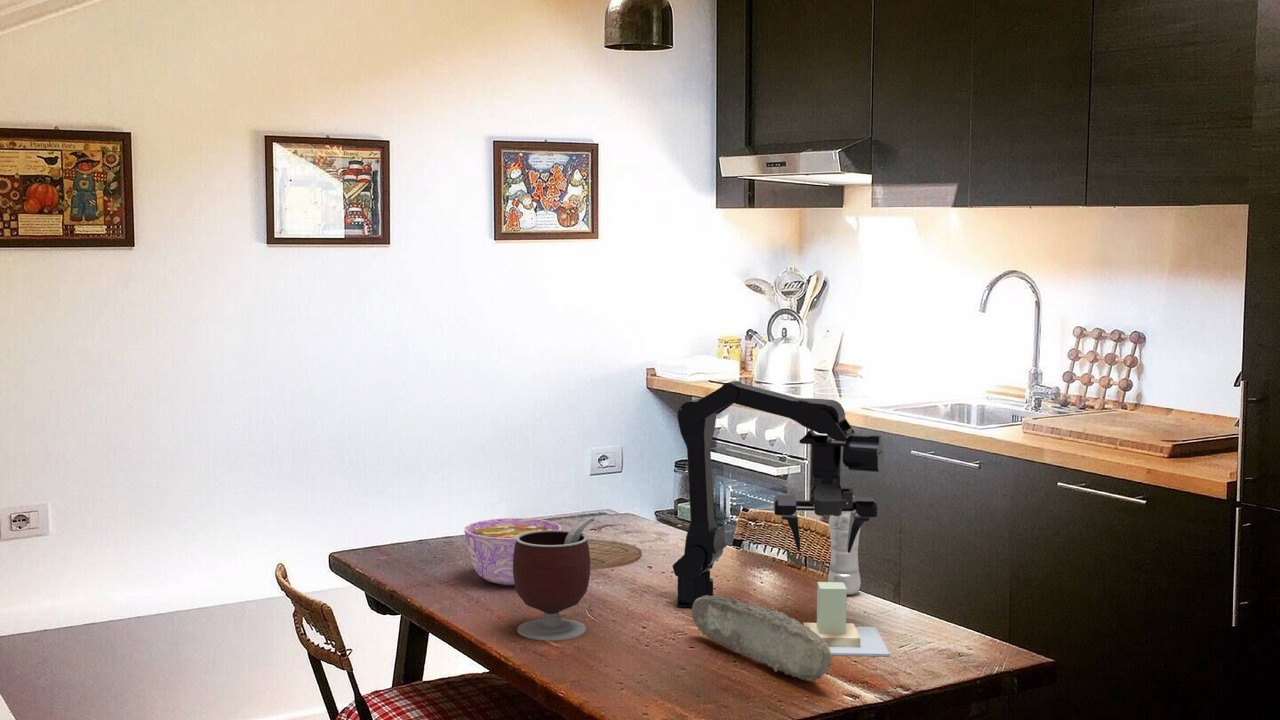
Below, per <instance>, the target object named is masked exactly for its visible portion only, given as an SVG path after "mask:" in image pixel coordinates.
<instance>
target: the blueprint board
mask: <svg viewBox="0 0 1280 720" xmlns="http://www.w3.org/2000/svg"><path fill="white" fill-rule="evenodd" d="M855 628H856V630H857V632H858V634H859V636H860V647H829V649H830V652H831V656H845V657H846V656H849V657H851V656H852V657H853V656H854V657H856V656H857V657H858V656H859V657H890V655H891V654H890V651H889V650H888V647H887V646H886V644H885V643H884V640H883V638H882V637H881V635H880V633H879V631H878V629H877V627H876V626H855Z"/></svg>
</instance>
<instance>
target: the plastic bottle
mask: <svg viewBox="0 0 1280 720" xmlns="http://www.w3.org/2000/svg"><path fill="white" fill-rule="evenodd" d="M853 497H856V496H855V495H854V494H853ZM851 512H853V511H842V514H841V515H840V516H834V515H829V519H828V526H829V529H828V530H829V538H830V554H831V555H830V563H829V564H830V565H829V571H828V577H827V582H844V584H845V587H846V589H847V596H852V595H853V596H854V595H857V594H858V593H859V590H860V588H861V582H862V581H861V575H860V568H859V555H858V554H859V550H858V549H859V542H860V541H859V540H860V534H861V528H862V526H861V527H860V529H859V531H858V533H857V535H856V538H855V540H854V543H853V546H852V549H851V551H850V553H848V552H847V540H848V531H849V522H850V514H851Z"/></svg>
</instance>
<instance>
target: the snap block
mask: <svg viewBox="0 0 1280 720" xmlns="http://www.w3.org/2000/svg"><path fill="white" fill-rule="evenodd" d="M816 585H817V589H816V594H817V595H816V597H817V598H816V623H817V629H818V631H819V634H846V623H847V596H848V595H847V589H846V587H845V584H844V582H828V581H817V582H816Z"/></svg>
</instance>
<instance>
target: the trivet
mask: <svg viewBox="0 0 1280 720" xmlns="http://www.w3.org/2000/svg"><path fill="white" fill-rule="evenodd" d="M587 541H588V545H589V552H590V570H597V569H611V568H617V567H623V566H627V565H630V564H633V563H636V562H637V561H639V560H640V559H641V558H642V555H643V554H642V550H641V549H640V548H639V547H638V546H636V545H633V544H630V543H627V542H622V541H615V540H607V539H606V540H605V539H592V538H591V539H588V538H587Z"/></svg>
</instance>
